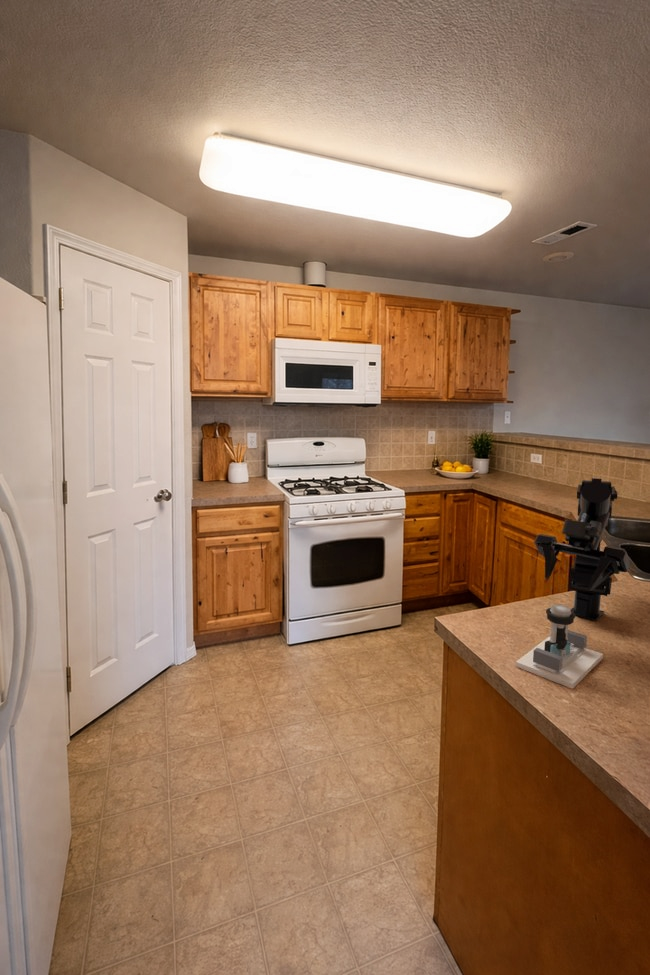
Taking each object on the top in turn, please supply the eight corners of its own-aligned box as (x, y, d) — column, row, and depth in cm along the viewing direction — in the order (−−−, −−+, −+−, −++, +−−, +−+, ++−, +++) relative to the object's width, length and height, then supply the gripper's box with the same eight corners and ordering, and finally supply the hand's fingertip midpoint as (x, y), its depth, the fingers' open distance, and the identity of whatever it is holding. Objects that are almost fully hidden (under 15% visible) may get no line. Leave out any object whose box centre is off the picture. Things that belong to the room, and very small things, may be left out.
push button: (562, 645, 102) (566, 600, 100) (583, 657, 97) (587, 610, 95) (537, 650, 100) (540, 605, 98) (557, 662, 95) (560, 615, 93)
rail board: (549, 640, 108) (550, 622, 107) (602, 658, 100) (604, 639, 99) (515, 666, 97) (516, 646, 97) (572, 688, 89) (574, 667, 89)
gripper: (540, 500, 113) (515, 555, 107) (630, 512, 99) (607, 575, 93) (552, 527, 119) (529, 580, 114) (638, 541, 105) (617, 602, 100)
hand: (567, 584), depth 105 cm, fingers open, 9 cm apart
